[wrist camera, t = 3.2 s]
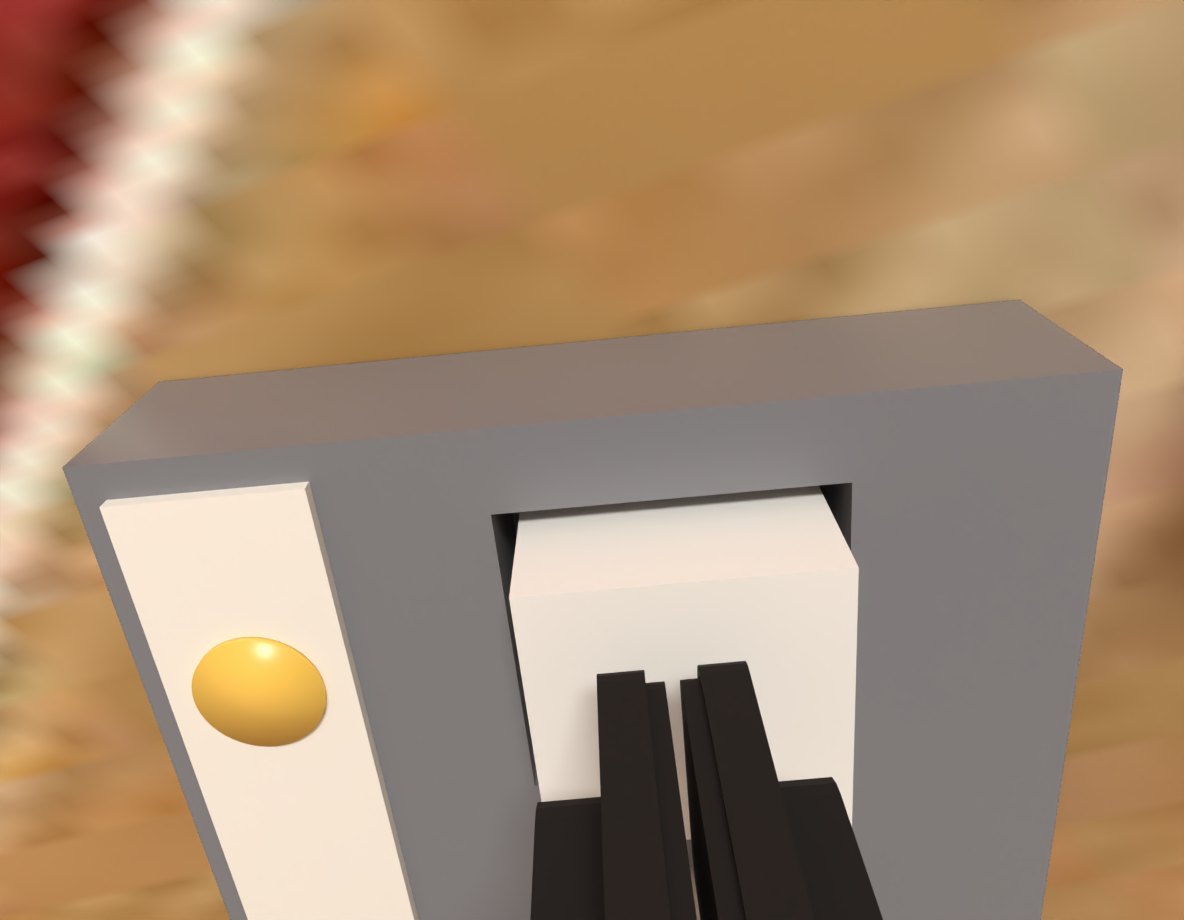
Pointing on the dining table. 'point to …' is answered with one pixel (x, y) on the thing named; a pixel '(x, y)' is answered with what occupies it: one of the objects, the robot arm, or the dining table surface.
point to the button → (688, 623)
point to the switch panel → (586, 478)
